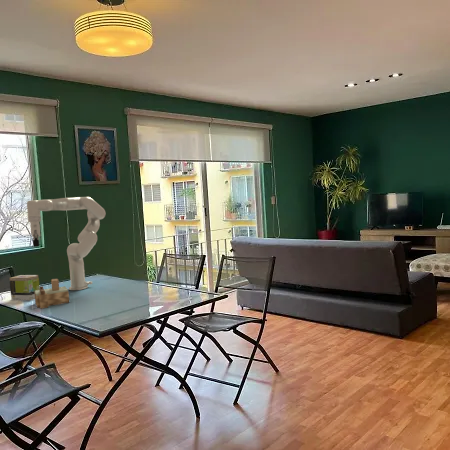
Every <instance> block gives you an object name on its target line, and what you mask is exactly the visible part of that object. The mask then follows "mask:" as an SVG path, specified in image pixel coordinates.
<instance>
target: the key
mask: <svg viewBox="0 0 450 450" xmlns="http://www.w3.org/2000/svg"><path fill="white" fill-rule="evenodd" d="M39 287H40V288H39V290H40V293H41V294H45V290H44V289H45V288H44V287H43V286H42V285H41V286H39Z"/></svg>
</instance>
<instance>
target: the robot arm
mask: <svg viewBox="0 0 450 450" xmlns="http://www.w3.org/2000/svg"><path fill="white" fill-rule="evenodd" d="M26 209H27V210H26V211H27V222H28V223H30V232H31V238H32V246H33V247H40V240H39V237H40V238H41V226H40V222H41V221H42V219H41V212H50V211H75V210H86V211H87V213H86V214H87V215H86V216H87V219H88V221H87V224H86V225H85V227H84V228H83V229H82V231H80V233H79V234H78V236H77V241H78V242H79V243H78V242H73V243H70V244H69V245H68V246H67V249H66V253H67V254H66V255H67V258H68V266H69V277H70V279H69V280H70V286H69V287H68V291H69V290H70V291H81V290H86V289H88V288H89V286H88V285H93V281H86V278H85V277H86V274H85V263H84V258H85V257H87V256H88V254H89V253H90V252H91V250H92V249H94V246H96V244H97V242H98V235H97V232H98V231H99V229H100V227H101V226H100V225H101V224H100V223H101V222H100V220H103V219H104V218H105V217H106V210H105V208H104V207H102V206H101V205H100V204H99V203H98V202H97V201H95V200H94V199H93V198H91V197H90V196H77V197H76V196H74V197H60V198H54V199H53V198H51V199H50V198H49V199H39V200H37V199H35V200H34V199H33V200H32V199H31V200H27V201H26Z"/></svg>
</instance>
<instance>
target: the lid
mask: <svg viewBox="0 0 450 450" xmlns="http://www.w3.org/2000/svg"><path fill="white" fill-rule="evenodd" d="M50 283H51V288H50V287H49V288H43V289H44V290H45V293H47V294H53V293H60V292H66V291H68V292H69V288H67V287H66V286H60V281H59V279H58V278H52V279H51V280H50ZM35 294H36V296H39V294H41V293H40V290H36V291H35Z"/></svg>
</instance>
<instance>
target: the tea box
mask: <svg viewBox="0 0 450 450" xmlns="http://www.w3.org/2000/svg"><path fill="white" fill-rule="evenodd" d="M8 278H9V279H8V280H9V287H10V288H9V289H10V299H11V301H33V300H35V293H34V292H35V291H36V290H39V288H40V287H41V286H40V278H39V274H25V275H24V274H20V275H16V276H13V277H8Z"/></svg>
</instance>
